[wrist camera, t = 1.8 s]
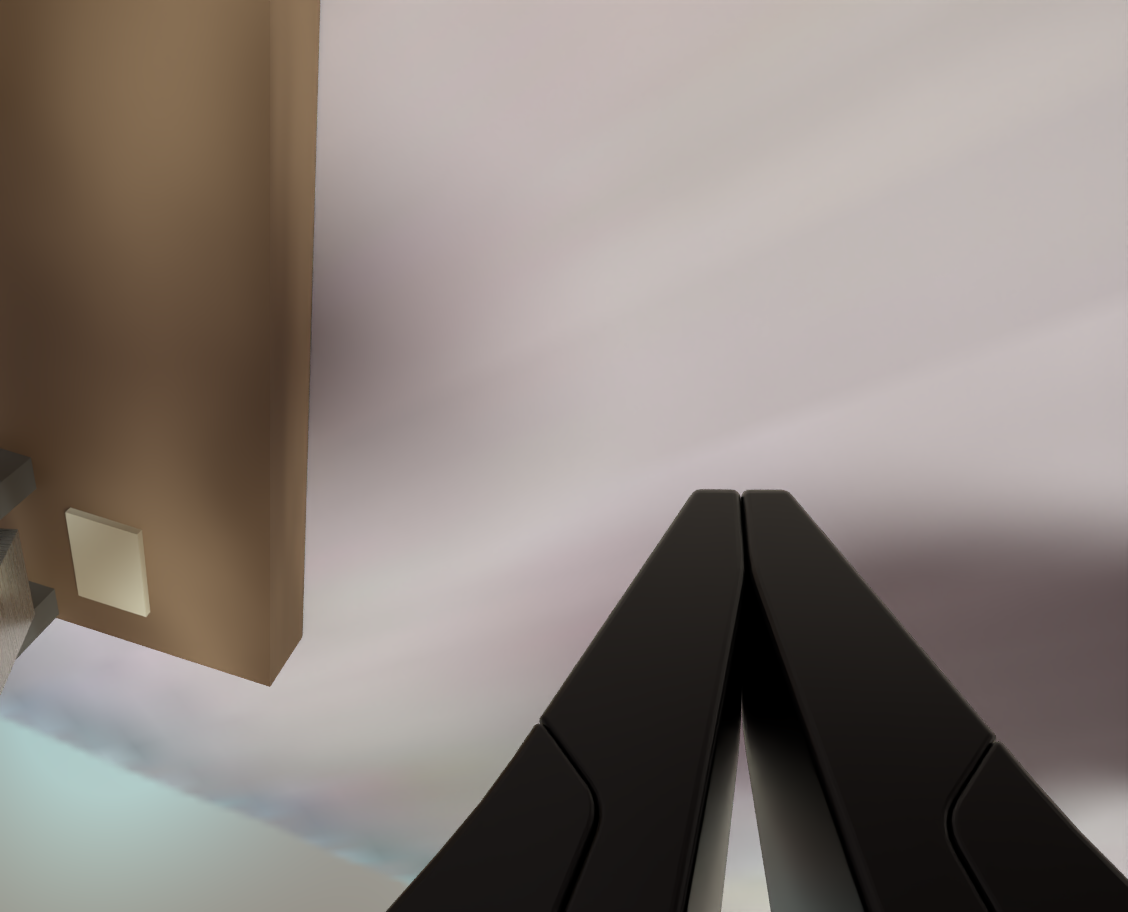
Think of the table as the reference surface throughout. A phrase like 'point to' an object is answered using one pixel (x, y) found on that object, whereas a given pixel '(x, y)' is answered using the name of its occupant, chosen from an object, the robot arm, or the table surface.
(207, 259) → the switch box
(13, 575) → the lever
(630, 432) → the table surface
